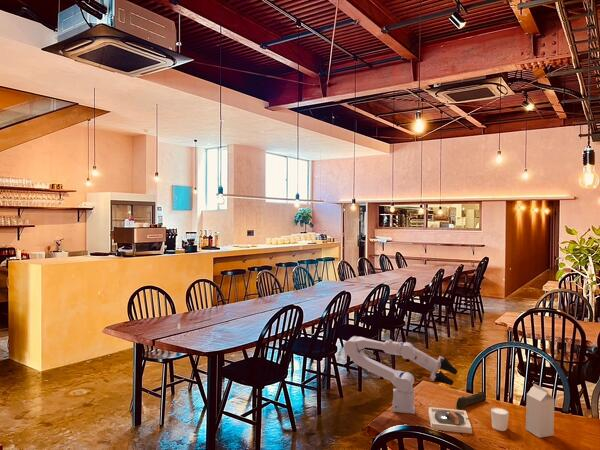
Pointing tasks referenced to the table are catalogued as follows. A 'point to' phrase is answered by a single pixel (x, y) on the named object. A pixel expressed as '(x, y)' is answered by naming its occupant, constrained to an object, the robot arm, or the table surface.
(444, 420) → the dial
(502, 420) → the white cylinder
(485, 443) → the table surface
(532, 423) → the milk carton
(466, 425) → the dial plate
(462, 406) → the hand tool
